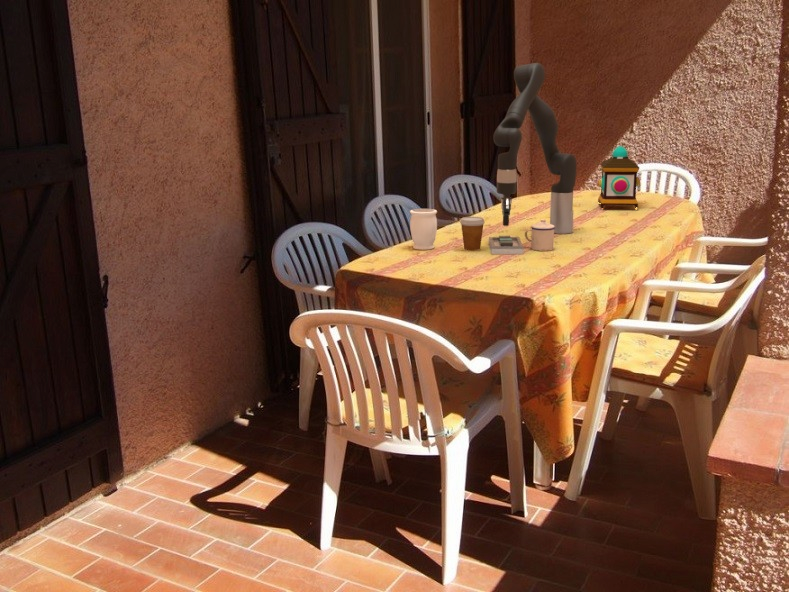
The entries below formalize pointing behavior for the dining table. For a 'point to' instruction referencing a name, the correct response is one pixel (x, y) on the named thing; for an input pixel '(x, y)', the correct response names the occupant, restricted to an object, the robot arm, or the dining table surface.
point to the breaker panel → (499, 249)
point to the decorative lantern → (619, 180)
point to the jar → (423, 228)
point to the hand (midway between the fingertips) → (505, 225)
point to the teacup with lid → (541, 236)
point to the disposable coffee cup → (472, 232)
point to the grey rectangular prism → (504, 237)
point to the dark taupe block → (506, 243)
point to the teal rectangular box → (505, 239)
